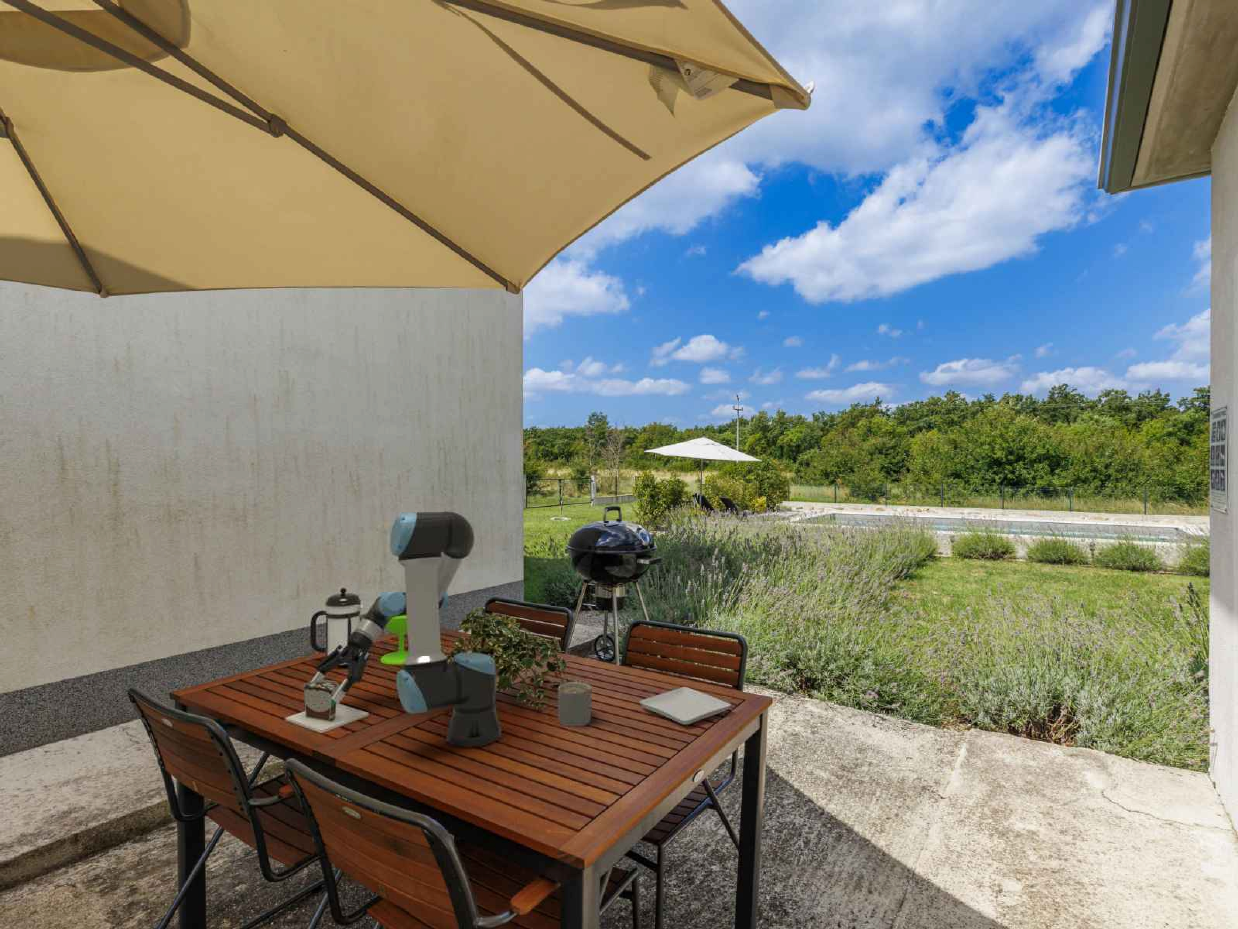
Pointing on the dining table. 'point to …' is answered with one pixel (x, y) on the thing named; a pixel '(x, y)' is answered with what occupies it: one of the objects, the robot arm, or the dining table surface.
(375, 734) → the dining table surface
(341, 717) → the ceramic tile
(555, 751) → the dining table surface
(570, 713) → the grey canister
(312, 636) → the coffee press
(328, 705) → the food container
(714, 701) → the salad plate
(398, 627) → the wineglass
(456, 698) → the robot arm
